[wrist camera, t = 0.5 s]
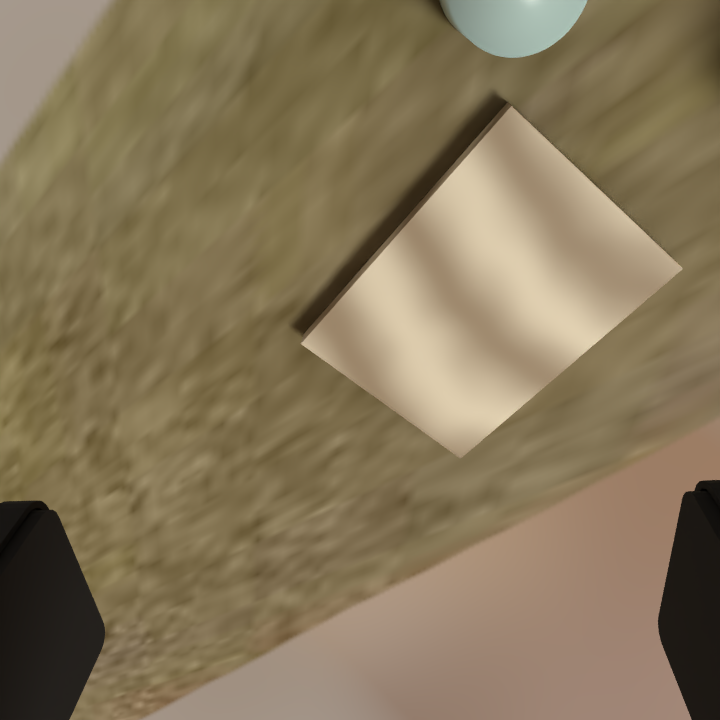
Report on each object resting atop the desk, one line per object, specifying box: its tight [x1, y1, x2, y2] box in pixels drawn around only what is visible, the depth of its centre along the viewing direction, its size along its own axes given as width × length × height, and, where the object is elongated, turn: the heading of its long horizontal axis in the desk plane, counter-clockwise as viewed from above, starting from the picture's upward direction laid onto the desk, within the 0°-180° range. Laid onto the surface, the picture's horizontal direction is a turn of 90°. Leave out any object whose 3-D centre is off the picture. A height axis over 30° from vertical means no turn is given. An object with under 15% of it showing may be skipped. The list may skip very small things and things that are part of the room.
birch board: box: [301, 102, 683, 458], centre depth 35 cm, size 16×12×1 cm
